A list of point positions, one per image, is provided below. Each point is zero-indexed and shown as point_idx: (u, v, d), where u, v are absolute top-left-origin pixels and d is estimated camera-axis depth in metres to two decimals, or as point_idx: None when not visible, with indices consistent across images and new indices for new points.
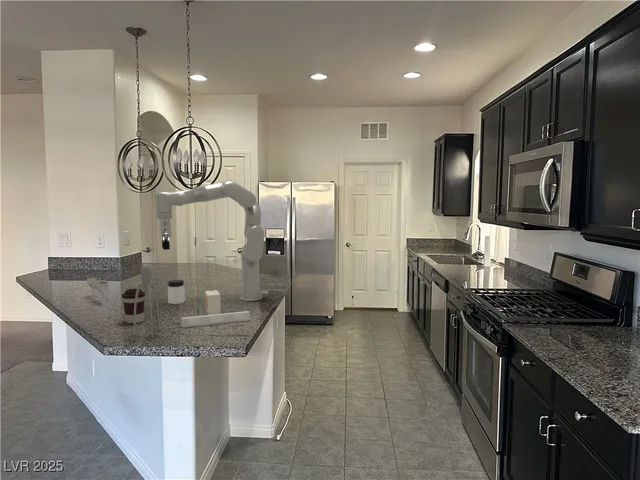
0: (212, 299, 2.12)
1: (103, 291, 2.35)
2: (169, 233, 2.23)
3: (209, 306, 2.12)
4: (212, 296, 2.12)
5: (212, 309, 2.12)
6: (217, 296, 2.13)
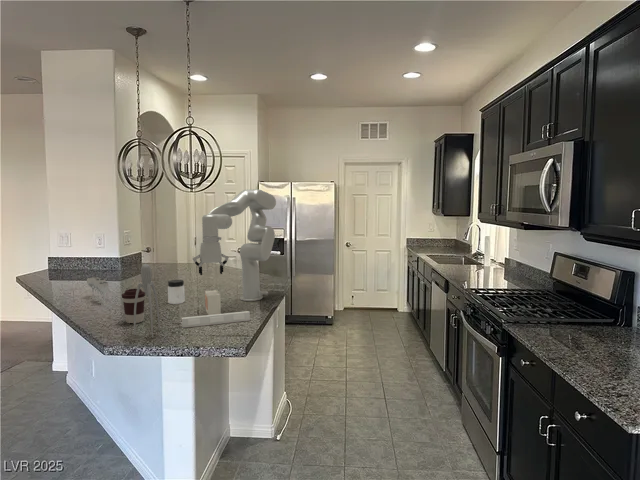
0: (212, 299, 2.12)
1: (103, 291, 2.35)
2: None
3: (209, 306, 2.12)
4: (212, 296, 2.12)
5: (212, 309, 2.12)
6: (217, 296, 2.13)
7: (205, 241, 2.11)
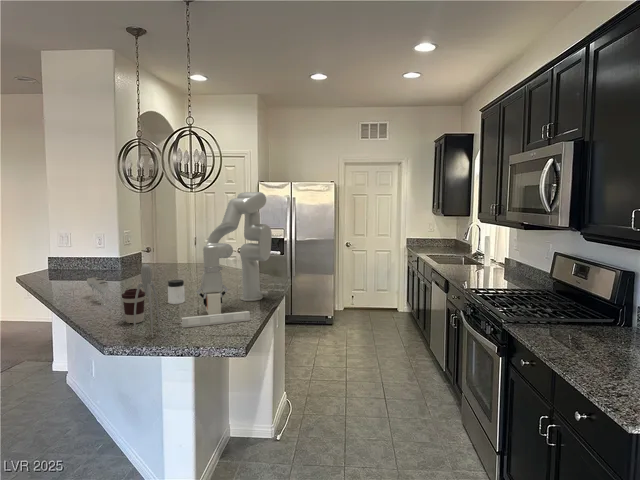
0: (212, 299, 2.12)
1: (103, 291, 2.35)
2: None
3: (209, 306, 2.12)
4: (212, 296, 2.12)
5: (212, 309, 2.12)
6: (217, 296, 2.13)
7: (206, 272, 2.13)
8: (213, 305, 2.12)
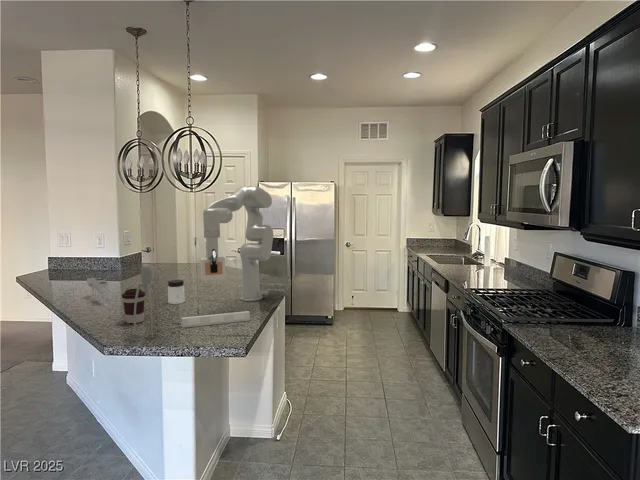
0: None
1: (103, 291, 2.35)
2: None
3: (225, 269, 2.10)
4: None
5: None
6: None
7: (218, 235, 2.07)
8: None
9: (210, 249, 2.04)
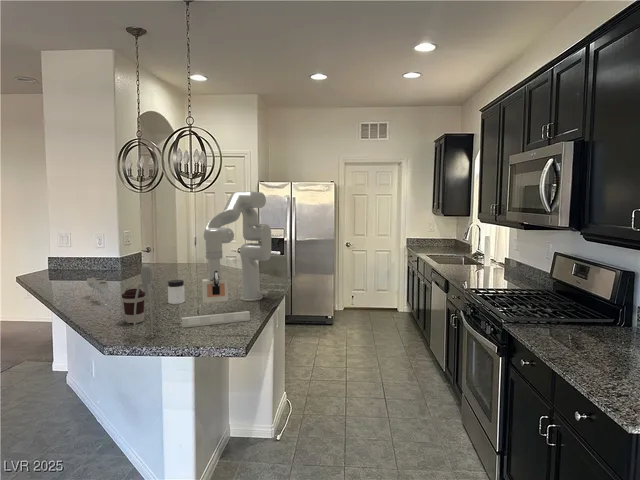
0: None
1: (103, 291, 2.35)
2: None
3: (227, 290, 2.05)
4: (226, 280, 2.06)
5: None
6: None
7: (220, 256, 2.02)
8: None
9: (212, 271, 1.99)
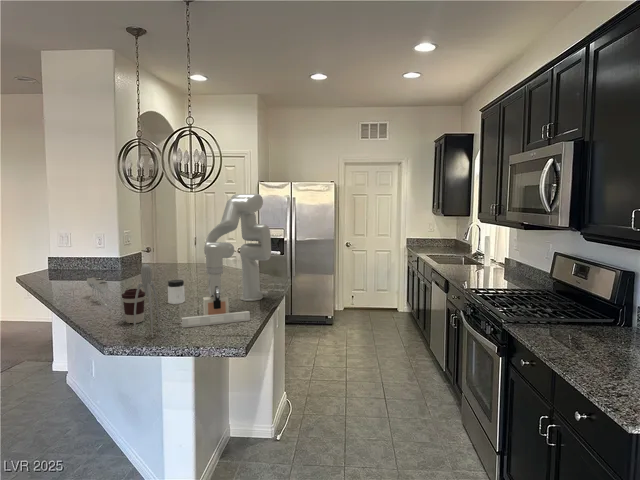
0: None
1: (103, 291, 2.35)
2: None
3: (228, 308, 2.06)
4: (227, 298, 2.07)
5: None
6: None
7: (221, 272, 2.03)
8: None
9: (213, 286, 2.00)
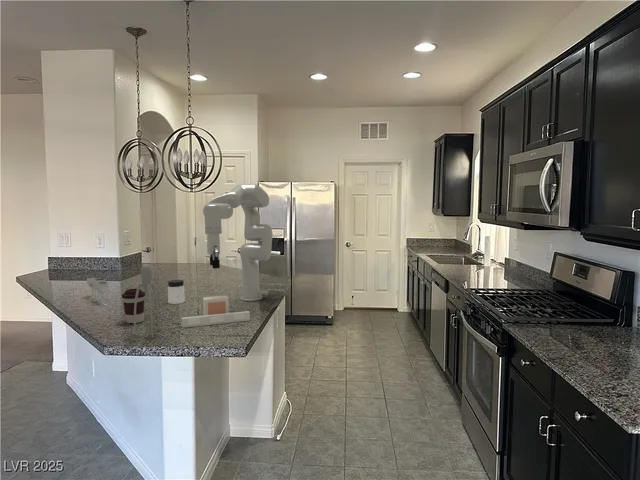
0: None
1: (103, 291, 2.35)
2: None
3: (228, 308, 2.06)
4: (227, 298, 2.07)
5: None
6: None
7: (219, 231, 2.03)
8: None
9: (212, 245, 2.00)
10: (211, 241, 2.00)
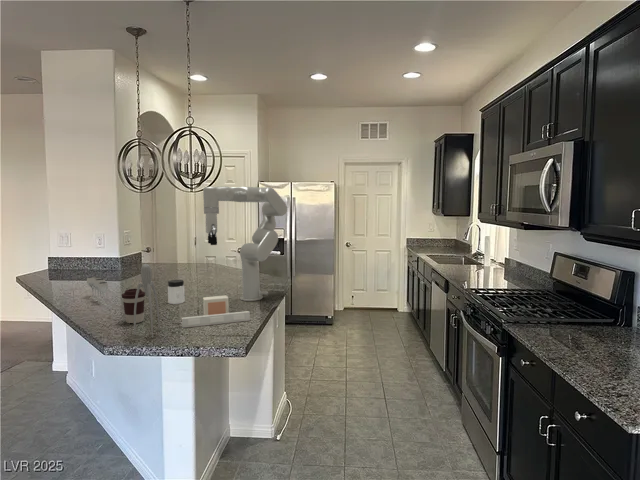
0: None
1: (103, 291, 2.35)
2: None
3: (228, 308, 2.06)
4: (227, 298, 2.07)
5: None
6: None
7: (217, 212, 2.22)
8: None
9: (210, 224, 2.19)
10: (209, 220, 2.19)
